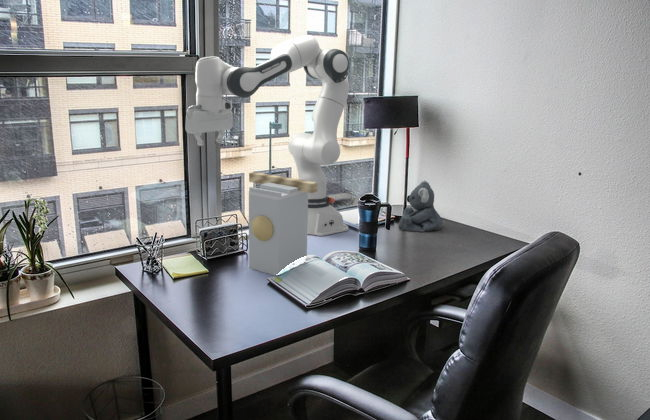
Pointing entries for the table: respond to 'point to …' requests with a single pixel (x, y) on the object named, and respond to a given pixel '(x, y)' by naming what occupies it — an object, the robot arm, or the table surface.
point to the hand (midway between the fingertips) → (210, 144)
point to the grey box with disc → (276, 226)
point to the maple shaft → (283, 181)
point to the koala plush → (421, 211)
